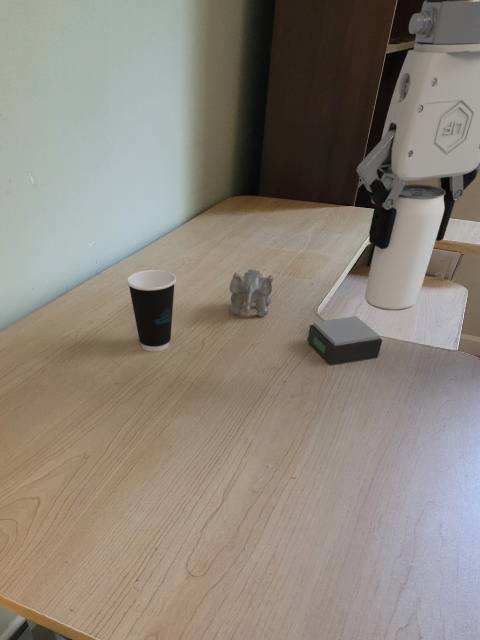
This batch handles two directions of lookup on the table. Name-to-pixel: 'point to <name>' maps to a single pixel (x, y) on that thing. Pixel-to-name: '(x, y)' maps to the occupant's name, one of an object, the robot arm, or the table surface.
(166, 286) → the dixie cup
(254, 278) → the elephant statuette
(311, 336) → the scale
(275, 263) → the table surface
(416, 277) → the can
